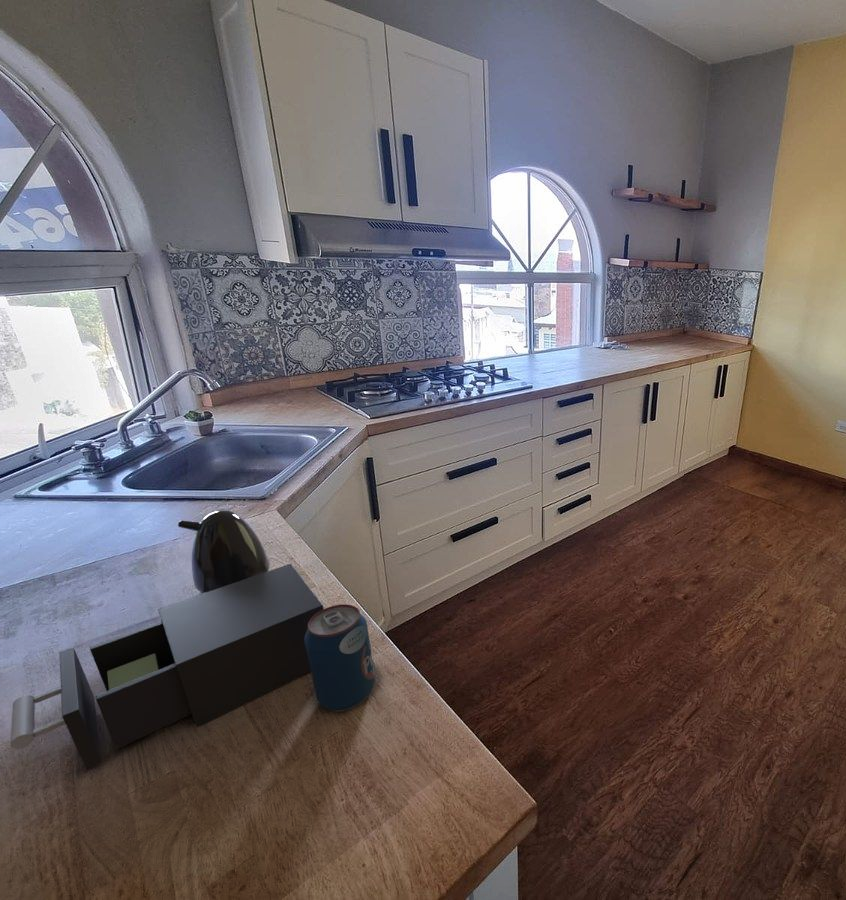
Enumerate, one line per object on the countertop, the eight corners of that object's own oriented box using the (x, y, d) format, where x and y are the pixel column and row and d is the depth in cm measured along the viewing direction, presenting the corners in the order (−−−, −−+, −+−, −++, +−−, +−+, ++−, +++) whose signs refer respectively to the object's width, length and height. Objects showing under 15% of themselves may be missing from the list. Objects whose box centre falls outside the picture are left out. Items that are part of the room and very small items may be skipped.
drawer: (27, 798, 51) (-2, 742, 48) (29, 723, 59) (4, 671, 56) (245, 694, 64) (231, 645, 61) (222, 644, 72) (209, 599, 69)
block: (118, 699, 61) (106, 670, 59) (164, 680, 64) (155, 652, 62) (120, 721, 58) (108, 692, 57) (169, 700, 61) (159, 672, 59)
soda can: (385, 695, 65) (373, 620, 61) (327, 726, 61) (311, 647, 57) (365, 665, 70) (353, 594, 66) (311, 691, 65) (294, 617, 61)
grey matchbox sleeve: (196, 728, 60) (175, 665, 57) (176, 666, 69) (157, 608, 65) (333, 660, 71) (323, 604, 67) (301, 614, 79) (290, 563, 76)
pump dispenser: (210, 581, 86) (188, 502, 81) (279, 570, 90) (262, 494, 85) (188, 618, 78) (162, 532, 72) (266, 605, 81) (246, 522, 76)
